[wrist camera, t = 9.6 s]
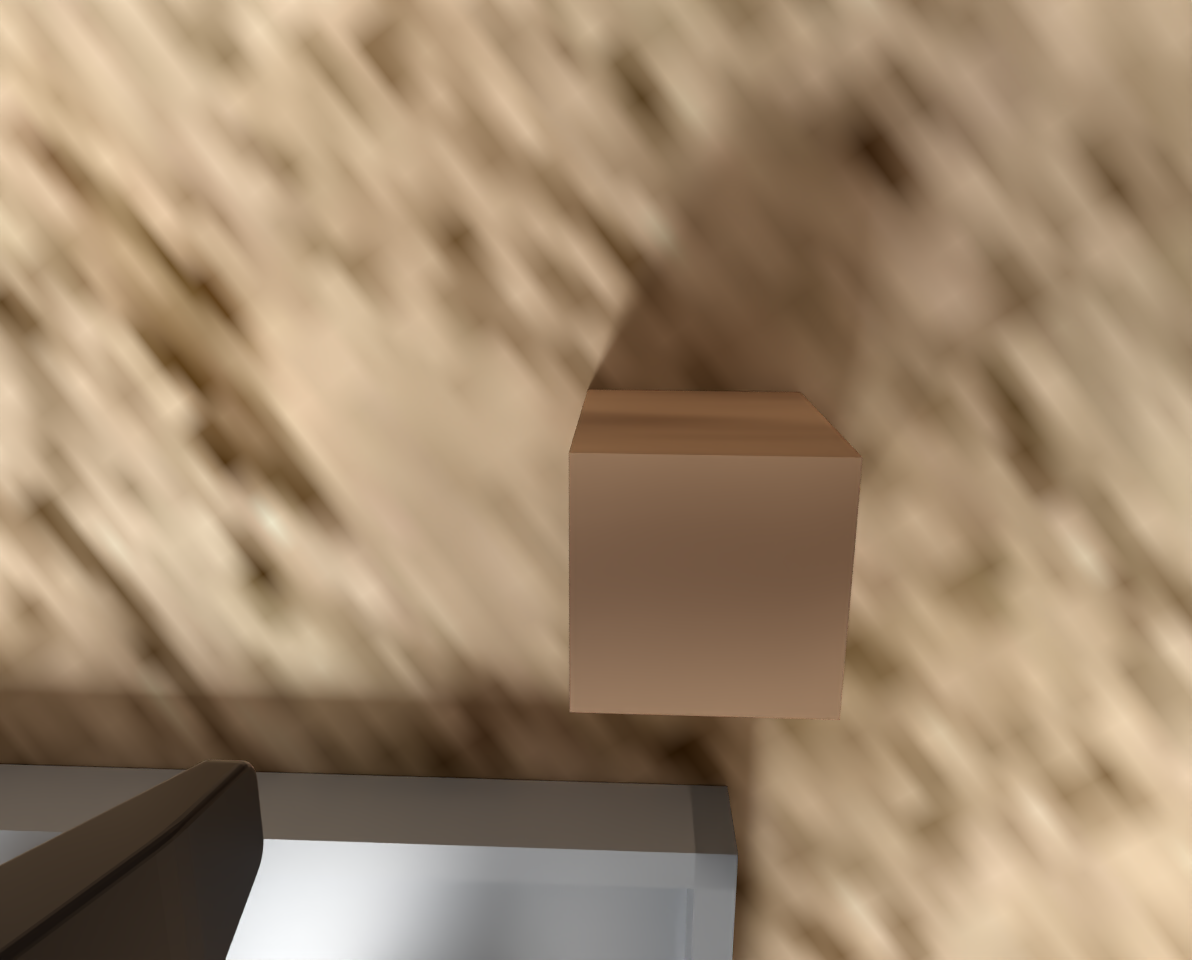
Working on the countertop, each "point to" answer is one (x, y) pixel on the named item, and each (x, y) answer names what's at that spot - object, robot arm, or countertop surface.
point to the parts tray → (447, 863)
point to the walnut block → (709, 555)
